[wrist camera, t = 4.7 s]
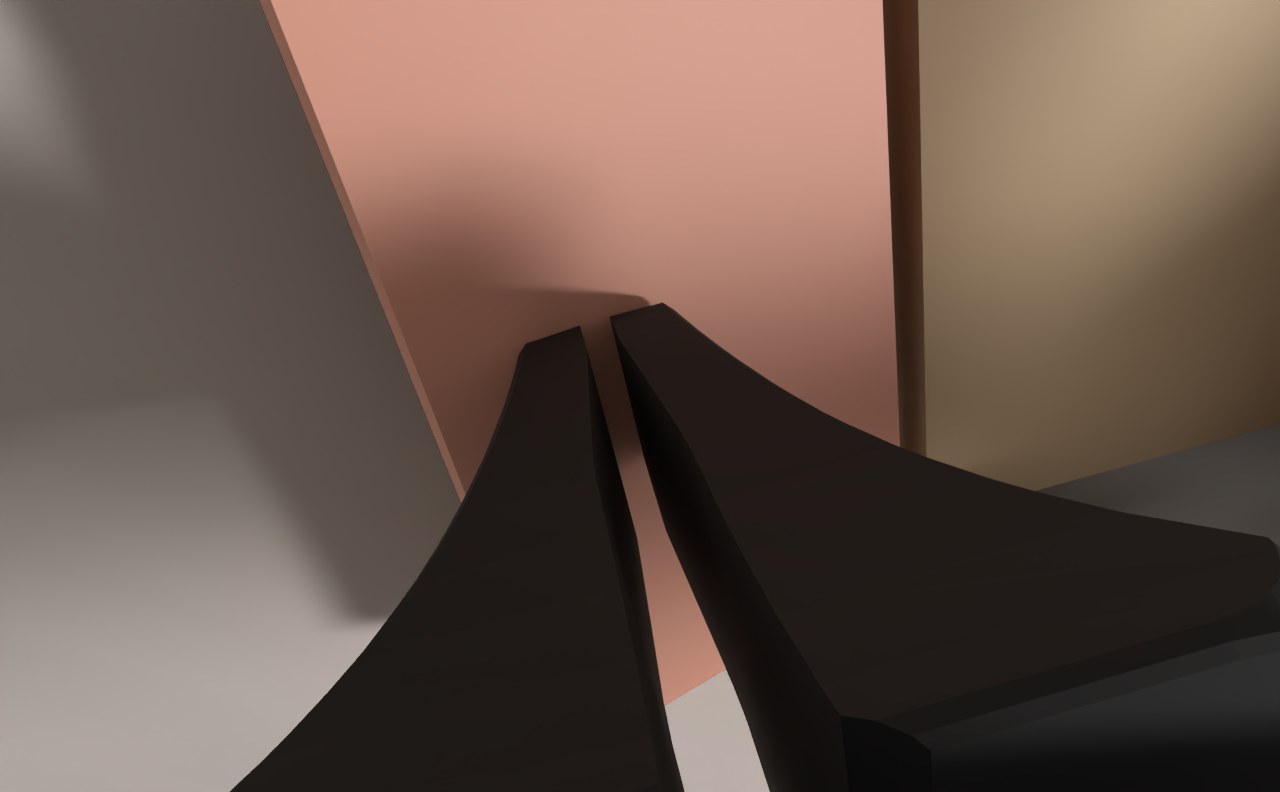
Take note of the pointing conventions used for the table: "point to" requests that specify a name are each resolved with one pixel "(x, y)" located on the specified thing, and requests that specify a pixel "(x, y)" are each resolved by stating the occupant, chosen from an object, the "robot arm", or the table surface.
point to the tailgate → (613, 206)
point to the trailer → (1091, 248)
